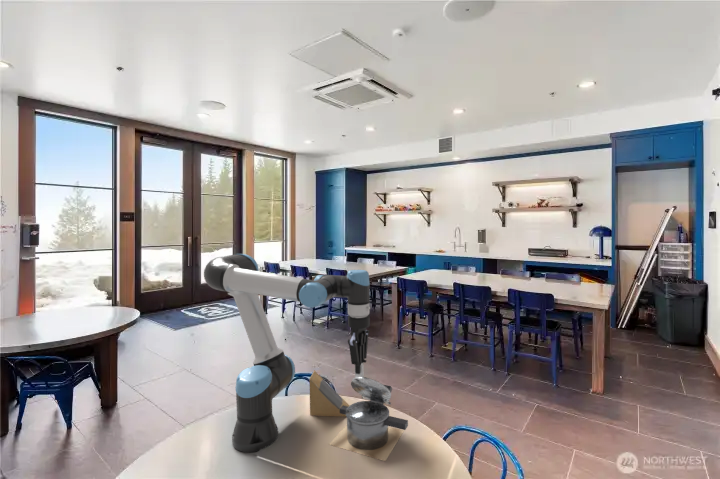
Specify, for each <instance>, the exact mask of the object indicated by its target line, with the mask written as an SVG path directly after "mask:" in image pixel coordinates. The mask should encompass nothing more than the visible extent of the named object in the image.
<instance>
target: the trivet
mask: <svg viewBox="0 0 720 479" xmlns="http://www.w3.org/2000/svg"><path fill="white" fill-rule="evenodd" d="M404 432H405V430H403V429H399V428H395V427H391V426H388V441H387V443H386V444H385V445H384V446H382V447H381V448H378V449H374V450H361V449H358V448H355V447H353V446H352V445H350V443H349V442H348V440H347V424H346V425H345V426H344V427H343V429H341V430H340V431H339V432H338V433H337V435H336V436H335V437H334V438H333V439H332V440H331V441H330V442H329V444H328V445H329V446H333V447H336V448H340V449H343V450H346V451H349V452H353V453H355V454H356V453H357V454H359V455H364V456H367V457H369V458H373V459H377V460H379V461H380V460H381V461H383V462H386V461H387V460H388V457H389V456H390V455H391V453H392V452H393V449H394V448H395V446H396V444H398V441H399V440H400V439H401V437H402V435H403V434H404Z"/></svg>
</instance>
